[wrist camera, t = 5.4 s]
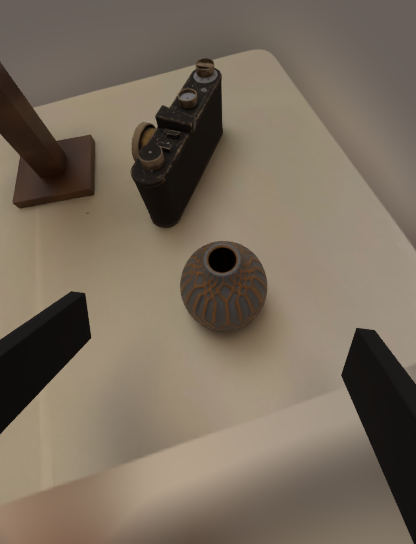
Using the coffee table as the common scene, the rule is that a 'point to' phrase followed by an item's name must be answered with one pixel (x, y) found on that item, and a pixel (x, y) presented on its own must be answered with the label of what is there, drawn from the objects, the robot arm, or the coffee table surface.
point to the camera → (178, 145)
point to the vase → (223, 286)
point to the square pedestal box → (43, 153)
